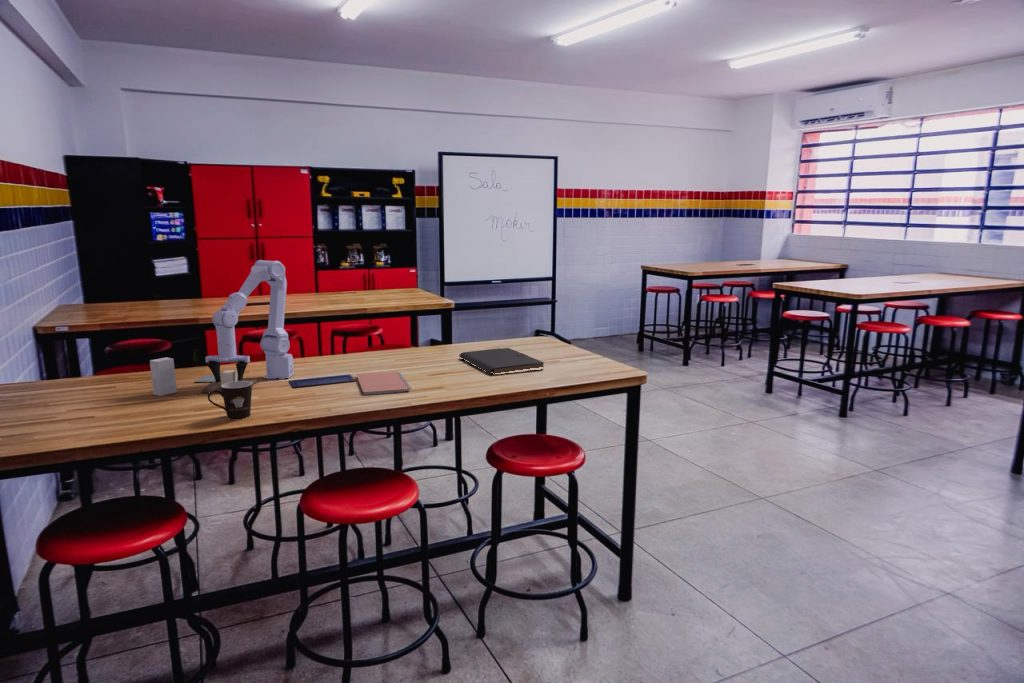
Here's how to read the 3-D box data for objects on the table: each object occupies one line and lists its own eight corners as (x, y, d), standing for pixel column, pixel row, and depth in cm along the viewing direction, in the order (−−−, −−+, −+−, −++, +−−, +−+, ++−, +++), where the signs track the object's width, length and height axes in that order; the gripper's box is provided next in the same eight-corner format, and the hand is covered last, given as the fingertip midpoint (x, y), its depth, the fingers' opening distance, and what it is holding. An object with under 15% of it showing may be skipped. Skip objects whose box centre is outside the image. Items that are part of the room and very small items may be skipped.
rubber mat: (229, 376, 236) (229, 375, 236) (219, 382, 228) (219, 381, 228) (205, 376, 236) (205, 375, 236) (194, 382, 227) (194, 381, 227)
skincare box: (170, 390, 216) (166, 356, 214) (177, 392, 214) (174, 358, 212) (152, 394, 211) (149, 360, 209) (159, 396, 209) (156, 361, 207)
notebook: (412, 393, 219) (412, 387, 219) (363, 397, 214) (363, 391, 213) (400, 375, 245) (400, 370, 244) (356, 378, 239) (356, 373, 239)
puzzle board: (256, 383, 227) (256, 379, 227) (243, 393, 215) (242, 388, 214) (217, 383, 227) (217, 379, 226) (201, 393, 214) (201, 388, 214)
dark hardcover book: (544, 361, 254) (490, 367, 243) (544, 371, 255) (491, 378, 244) (508, 346, 283) (459, 352, 272) (508, 355, 284) (459, 361, 273)
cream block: (237, 386, 223) (236, 370, 222) (233, 389, 219) (232, 373, 218) (226, 386, 222) (225, 370, 221) (221, 389, 219) (220, 373, 217)
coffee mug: (258, 412, 193) (256, 381, 191) (247, 420, 185) (245, 388, 183) (220, 412, 193) (218, 380, 191) (208, 420, 184) (205, 388, 183)
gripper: (200, 346, 213) (203, 384, 216) (243, 346, 214) (246, 384, 217) (209, 342, 220) (212, 379, 223) (251, 342, 221) (253, 379, 223)
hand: (229, 382), depth 220 cm, fingers open, 7 cm apart
